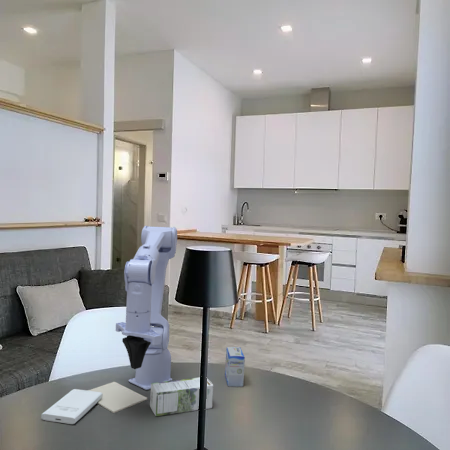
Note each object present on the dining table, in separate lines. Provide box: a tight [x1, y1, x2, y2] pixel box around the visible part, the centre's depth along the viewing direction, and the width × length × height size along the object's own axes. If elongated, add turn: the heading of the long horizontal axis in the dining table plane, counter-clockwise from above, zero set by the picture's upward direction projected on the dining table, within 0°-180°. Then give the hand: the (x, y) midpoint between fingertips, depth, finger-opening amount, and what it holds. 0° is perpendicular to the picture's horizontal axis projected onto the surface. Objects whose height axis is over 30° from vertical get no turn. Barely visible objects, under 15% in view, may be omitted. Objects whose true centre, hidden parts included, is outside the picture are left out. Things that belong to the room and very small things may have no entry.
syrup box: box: [149, 377, 214, 417], centre depth 100 cm, size 6×6×14 cm
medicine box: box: [224, 346, 246, 388], centre depth 117 cm, size 8×4×9 cm, turn 6°
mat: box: [87, 381, 148, 414], centre depth 103 cm, size 10×14×1 cm
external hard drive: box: [40, 388, 103, 425], centre depth 96 cm, size 2×8×12 cm
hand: (136, 367), depth 96 cm, fingers closed
